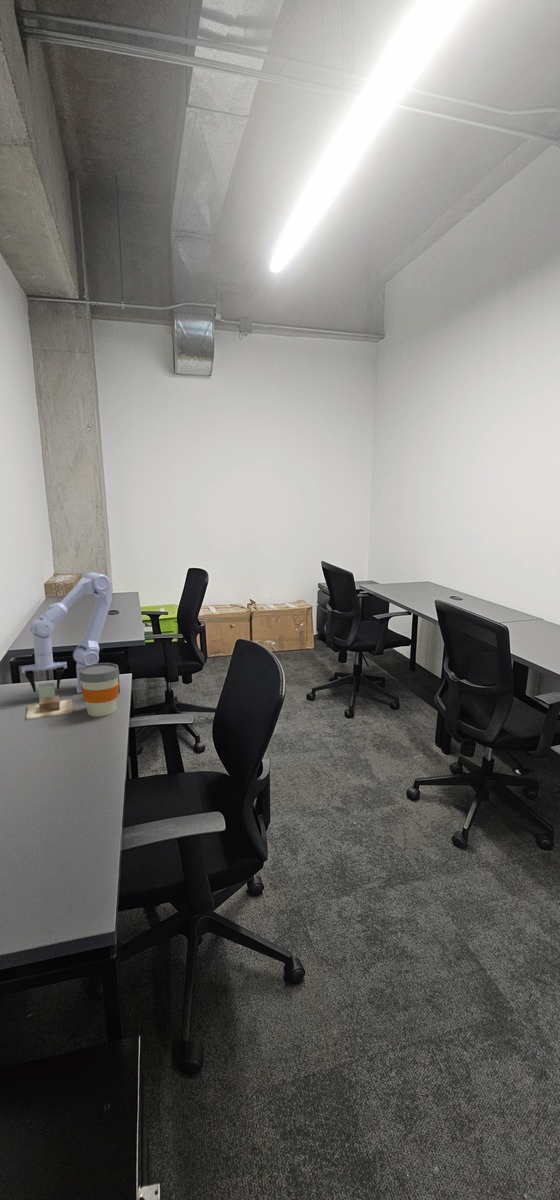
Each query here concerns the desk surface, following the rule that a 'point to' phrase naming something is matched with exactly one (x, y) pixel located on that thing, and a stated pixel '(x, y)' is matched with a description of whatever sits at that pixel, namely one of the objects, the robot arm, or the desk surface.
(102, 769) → the desk surface
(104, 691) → the reusable coffee cup
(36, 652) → the robot arm
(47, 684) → the sage cube
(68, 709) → the baseplate
